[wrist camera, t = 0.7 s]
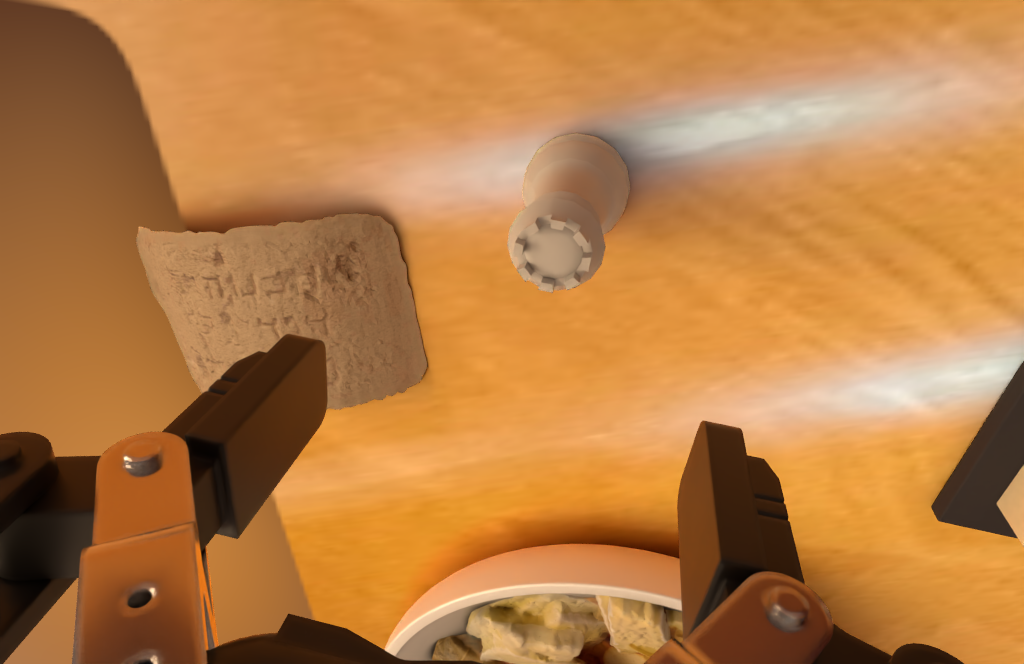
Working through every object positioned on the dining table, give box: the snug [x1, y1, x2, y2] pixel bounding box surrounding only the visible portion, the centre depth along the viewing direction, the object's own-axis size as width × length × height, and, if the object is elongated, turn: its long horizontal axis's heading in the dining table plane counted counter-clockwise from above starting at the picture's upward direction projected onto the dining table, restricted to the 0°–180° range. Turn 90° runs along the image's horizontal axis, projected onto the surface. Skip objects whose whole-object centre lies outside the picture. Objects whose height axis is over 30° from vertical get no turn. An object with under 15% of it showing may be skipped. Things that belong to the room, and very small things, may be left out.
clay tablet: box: [136, 213, 427, 409], centre depth 32 cm, size 14×10×3 cm
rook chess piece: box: [507, 133, 630, 293], centre depth 24 cm, size 4×4×8 cm
